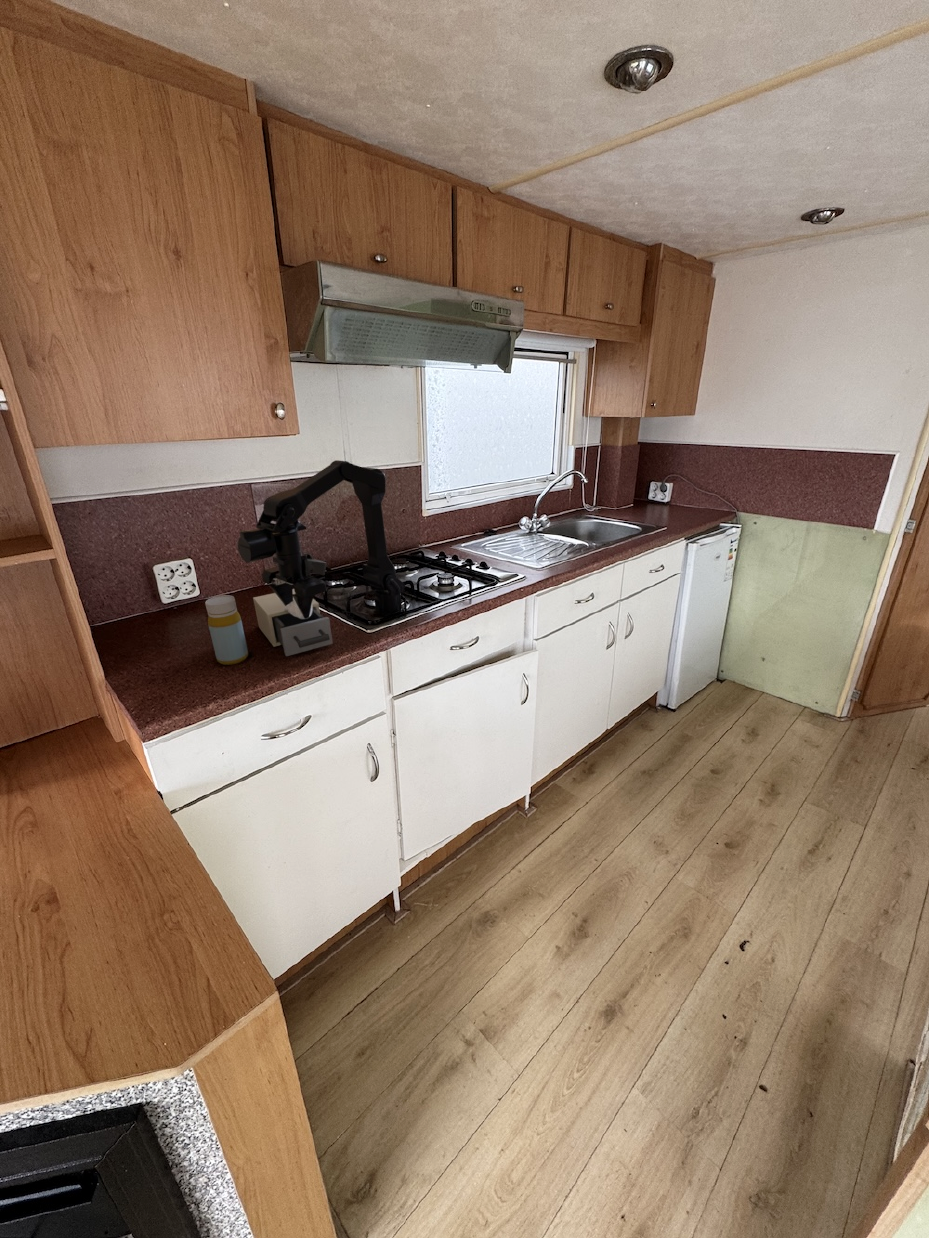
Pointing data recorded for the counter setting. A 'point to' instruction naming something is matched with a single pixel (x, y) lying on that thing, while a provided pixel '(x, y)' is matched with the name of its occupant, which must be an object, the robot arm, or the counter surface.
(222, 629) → the bottle
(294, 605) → the garlic bulb
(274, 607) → the small drawer cabinet
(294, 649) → the grey drawer with handle
